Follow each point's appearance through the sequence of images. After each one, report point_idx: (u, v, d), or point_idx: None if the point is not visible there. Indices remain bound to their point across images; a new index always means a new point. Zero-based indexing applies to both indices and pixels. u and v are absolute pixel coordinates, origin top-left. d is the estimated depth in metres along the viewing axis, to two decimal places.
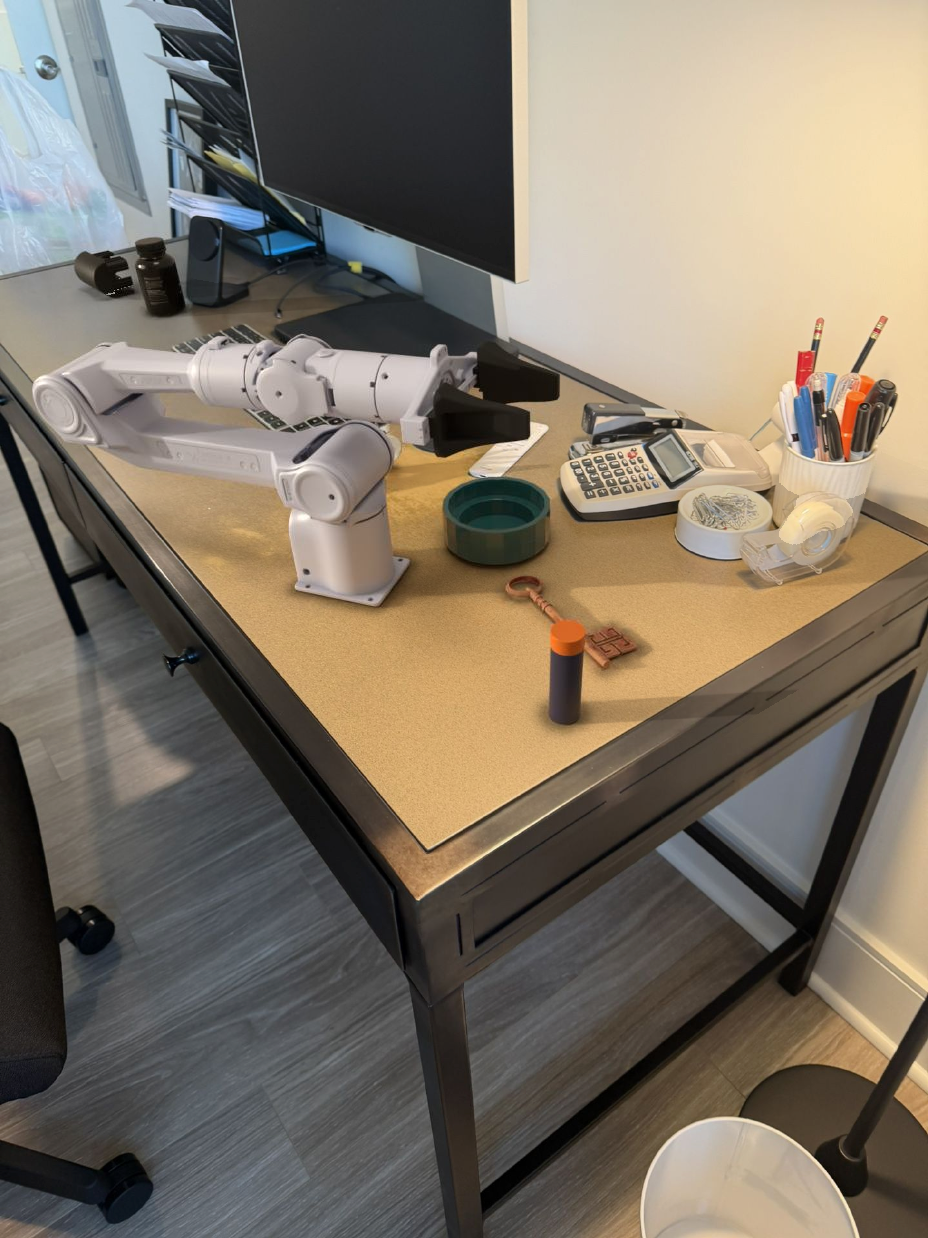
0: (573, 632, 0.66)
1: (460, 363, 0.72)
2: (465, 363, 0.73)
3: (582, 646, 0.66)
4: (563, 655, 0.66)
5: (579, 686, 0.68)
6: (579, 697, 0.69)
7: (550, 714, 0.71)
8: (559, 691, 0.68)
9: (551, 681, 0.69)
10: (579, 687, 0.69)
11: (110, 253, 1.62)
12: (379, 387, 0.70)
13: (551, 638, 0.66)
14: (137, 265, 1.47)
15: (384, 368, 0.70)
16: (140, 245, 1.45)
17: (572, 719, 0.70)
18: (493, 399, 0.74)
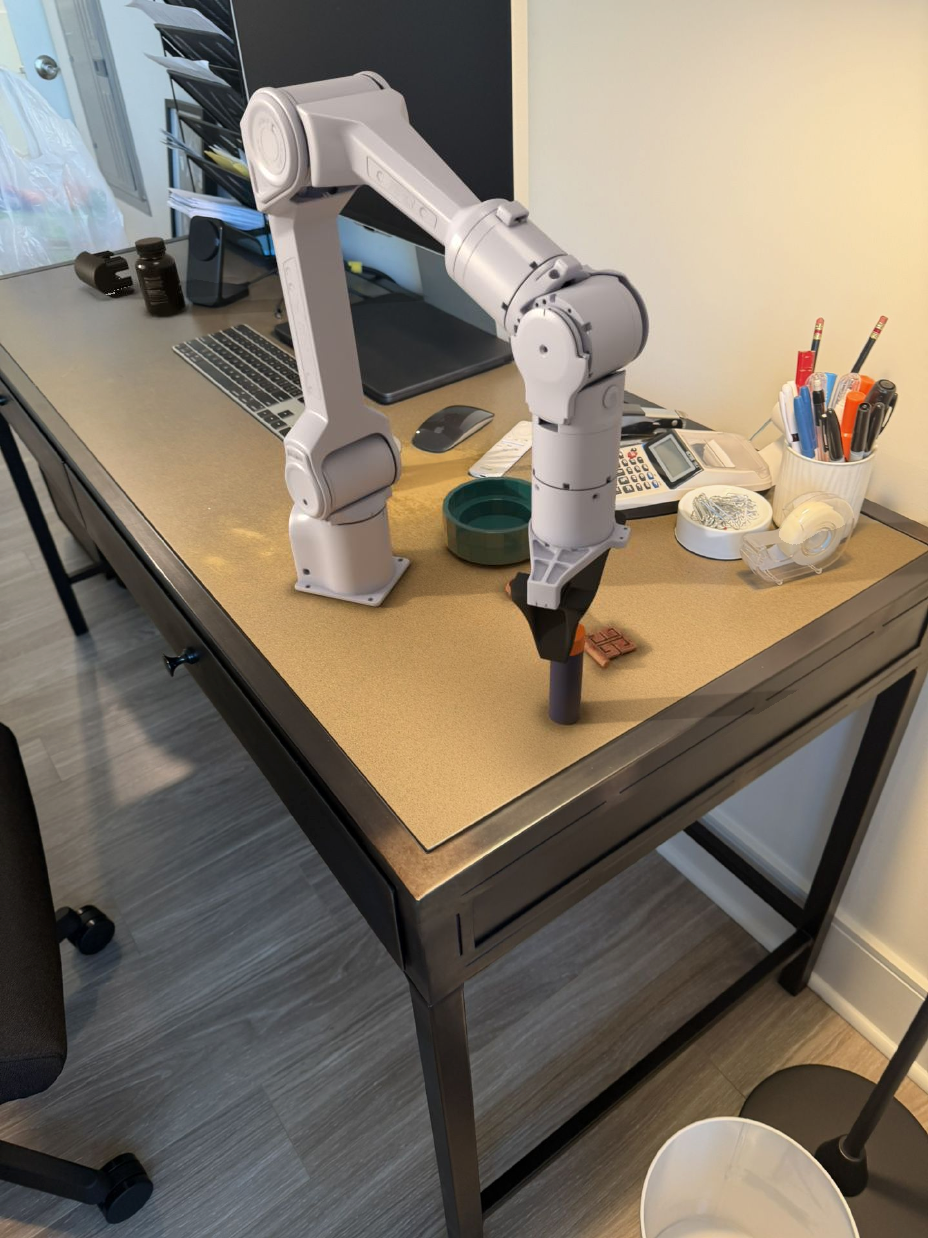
0: None
1: None
2: None
3: (582, 646, 0.66)
4: None
5: (579, 686, 0.68)
6: (579, 697, 0.69)
7: (550, 714, 0.71)
8: (559, 691, 0.68)
9: (551, 681, 0.69)
10: (579, 687, 0.69)
11: (110, 253, 1.62)
12: (582, 495, 0.55)
13: None
14: (137, 265, 1.47)
15: (604, 490, 0.56)
16: (140, 245, 1.45)
17: (572, 719, 0.70)
18: None
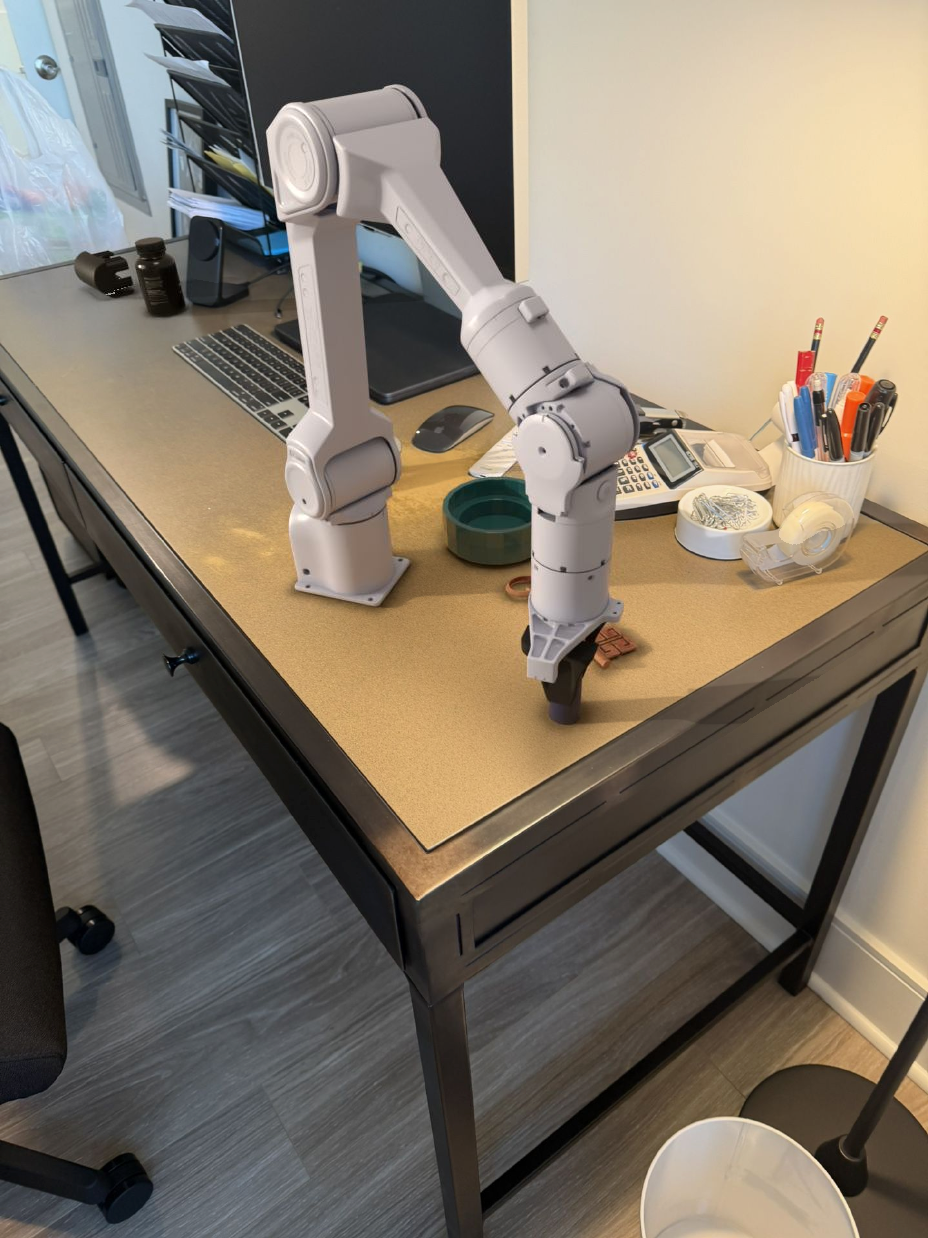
0: None
1: None
2: None
3: None
4: None
5: (579, 686, 0.68)
6: (579, 697, 0.69)
7: (550, 714, 0.71)
8: None
9: None
10: (579, 687, 0.69)
11: (110, 253, 1.62)
12: (578, 577, 0.59)
13: None
14: (137, 265, 1.47)
15: (599, 572, 0.60)
16: (140, 245, 1.45)
17: (572, 719, 0.70)
18: None
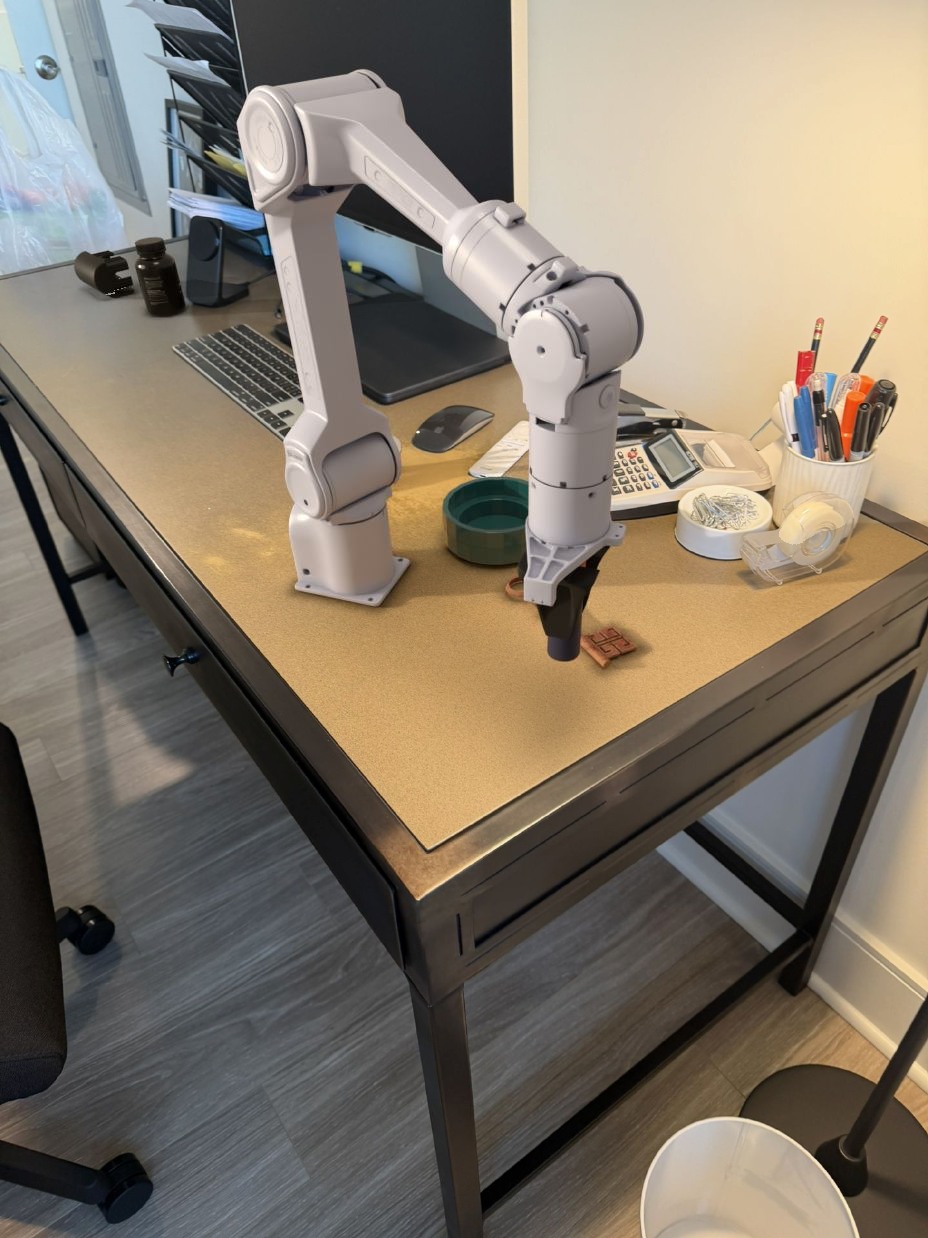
0: None
1: None
2: None
3: None
4: None
5: (579, 619, 0.65)
6: (579, 632, 0.66)
7: (549, 651, 0.68)
8: None
9: None
10: (579, 620, 0.65)
11: (110, 253, 1.62)
12: (578, 493, 0.56)
13: None
14: (137, 265, 1.47)
15: (600, 489, 0.56)
16: (140, 245, 1.45)
17: (572, 656, 0.67)
18: None
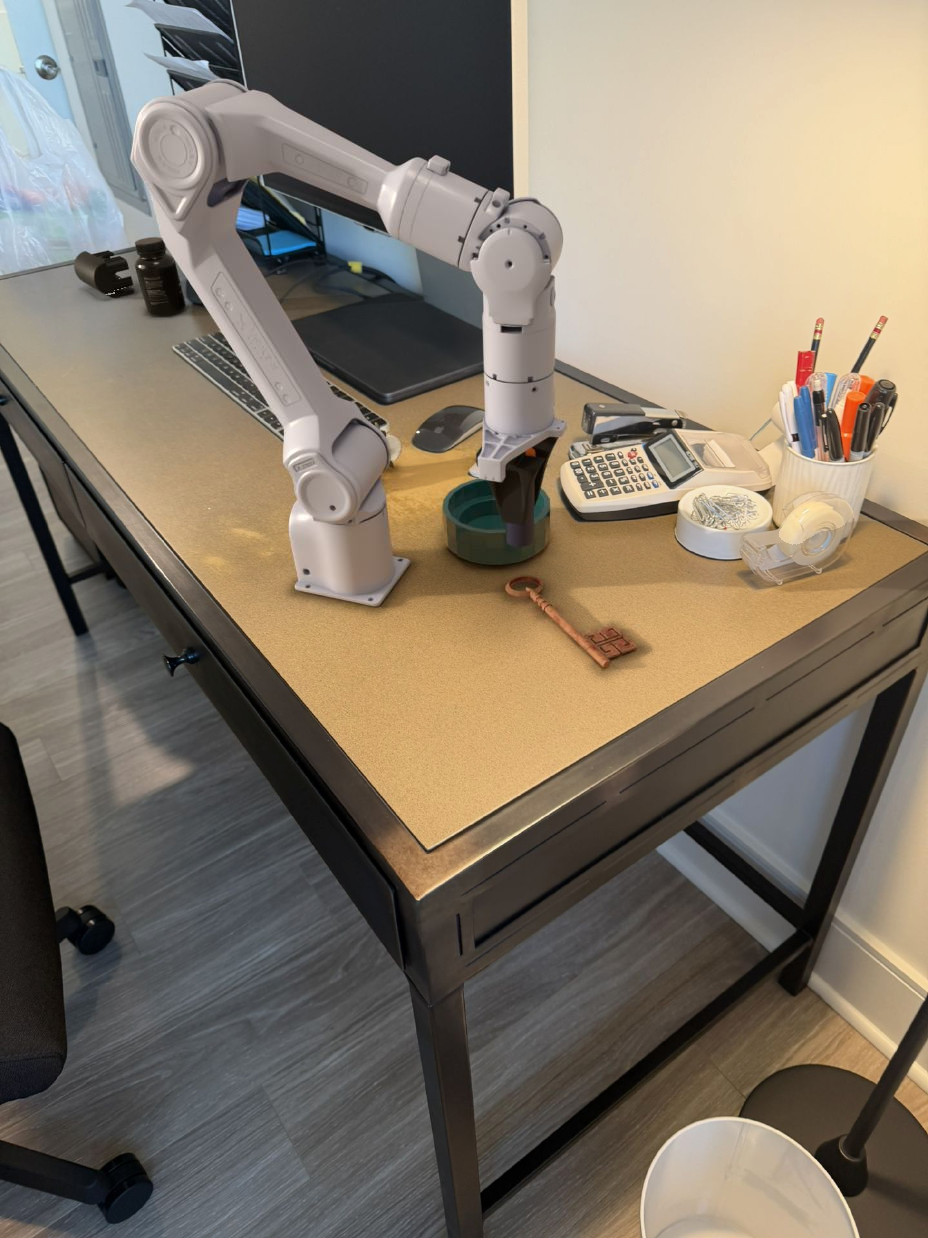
0: None
1: None
2: None
3: None
4: None
5: (531, 508, 0.76)
6: (532, 520, 0.77)
7: (506, 538, 0.79)
8: None
9: None
10: (531, 509, 0.77)
11: (110, 253, 1.62)
12: (523, 387, 0.67)
13: None
14: (137, 265, 1.47)
15: (542, 384, 0.68)
16: (140, 245, 1.45)
17: (526, 541, 0.78)
18: None
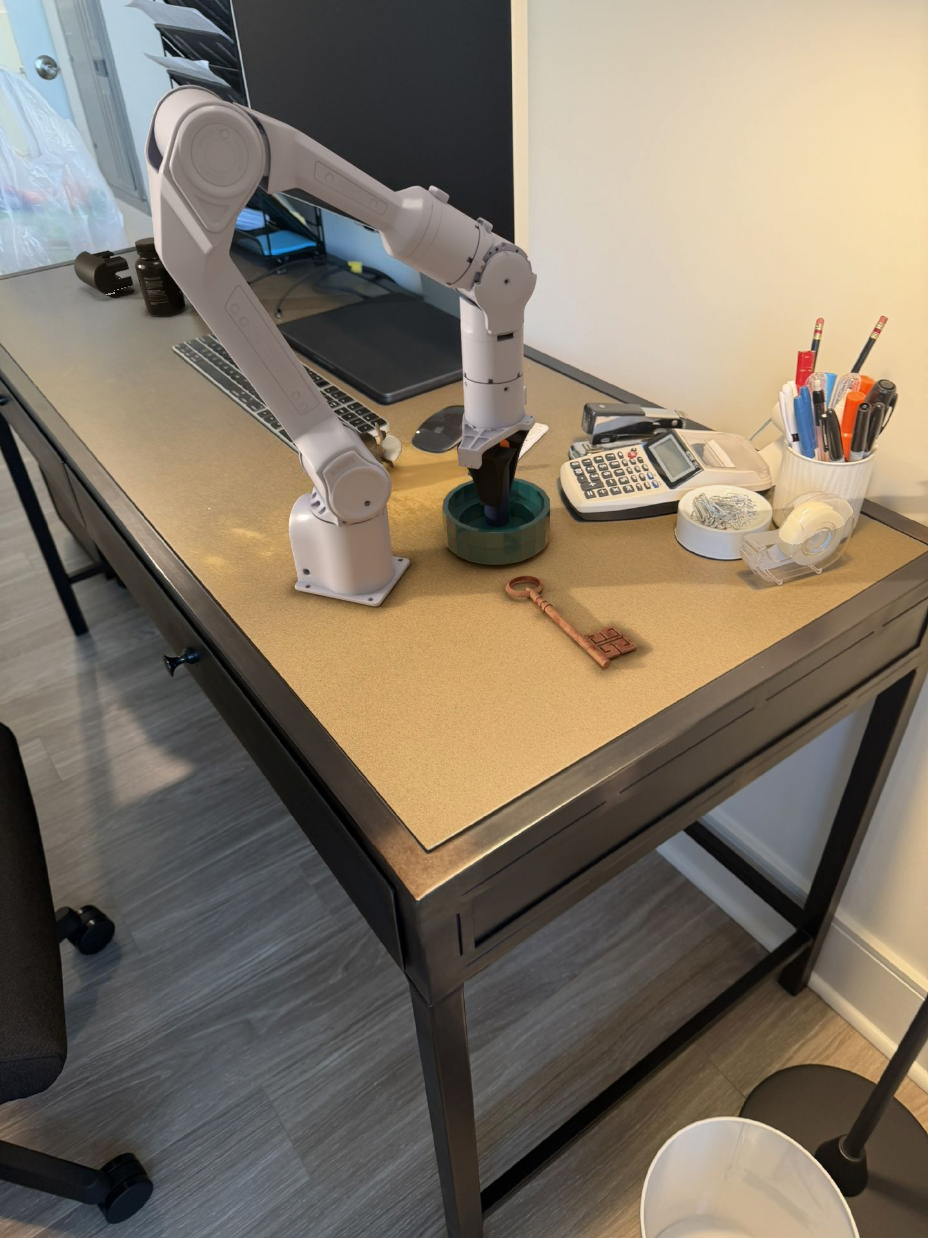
0: None
1: None
2: None
3: None
4: None
5: (506, 492, 0.88)
6: (507, 503, 0.89)
7: (486, 519, 0.90)
8: None
9: None
10: (506, 493, 0.88)
11: (110, 253, 1.62)
12: (496, 387, 0.78)
13: None
14: (137, 265, 1.47)
15: (512, 385, 0.79)
16: (140, 245, 1.45)
17: (502, 522, 0.90)
18: None
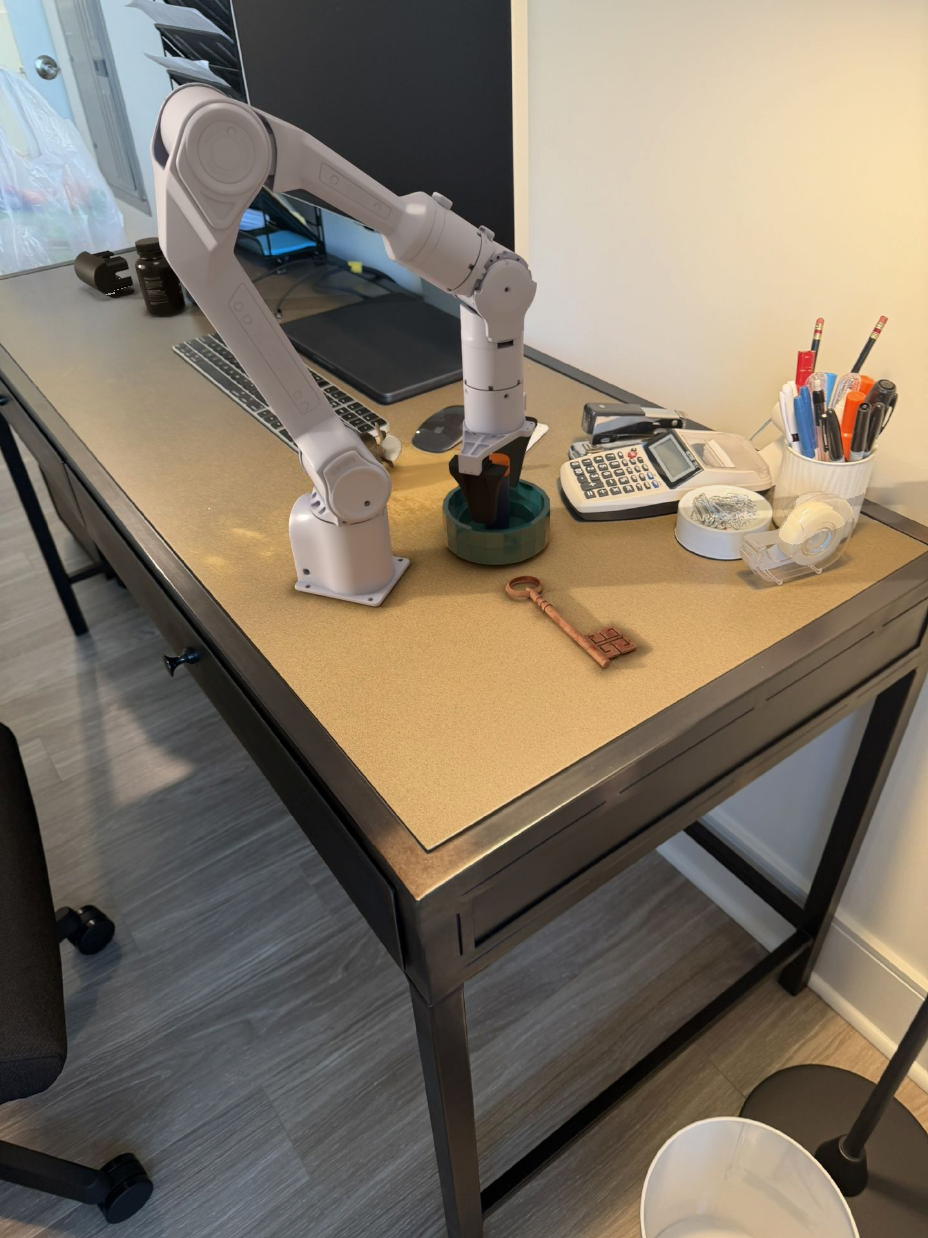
0: (500, 460, 0.86)
1: None
2: None
3: (507, 471, 0.86)
4: None
5: (507, 507, 0.89)
6: (507, 517, 0.90)
7: None
8: None
9: None
10: (507, 508, 0.89)
11: (110, 253, 1.62)
12: (496, 394, 0.79)
13: None
14: (137, 265, 1.47)
15: (512, 392, 0.79)
16: (140, 245, 1.45)
17: None
18: None
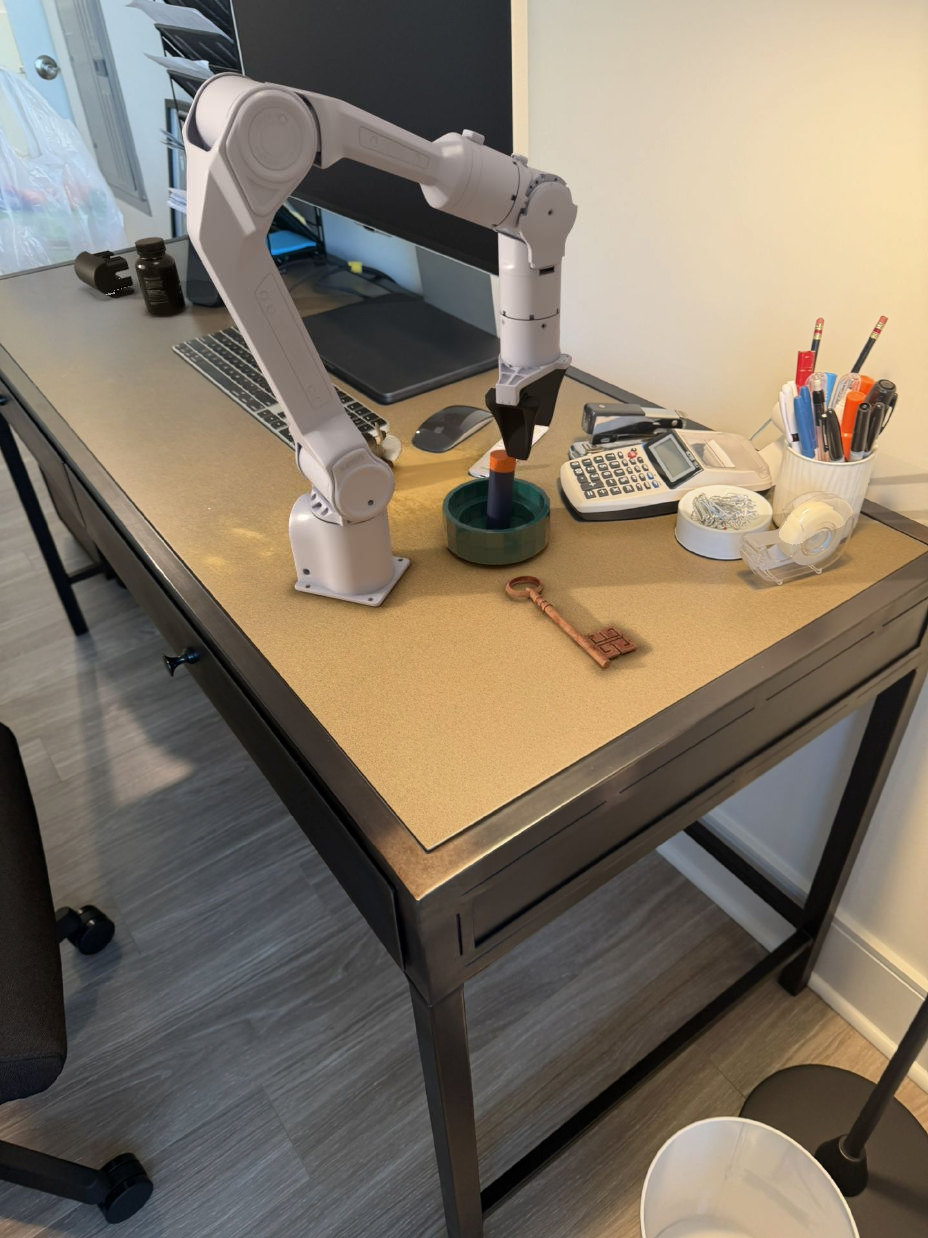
0: None
1: None
2: None
3: (513, 466, 0.87)
4: (499, 471, 0.86)
5: (510, 504, 0.89)
6: (509, 515, 0.90)
7: None
8: (494, 506, 0.89)
9: (488, 499, 0.89)
10: (510, 505, 0.89)
11: (110, 253, 1.62)
12: (534, 324, 0.79)
13: (490, 459, 0.87)
14: (137, 265, 1.47)
15: (550, 321, 0.79)
16: (140, 245, 1.45)
17: None
18: None
